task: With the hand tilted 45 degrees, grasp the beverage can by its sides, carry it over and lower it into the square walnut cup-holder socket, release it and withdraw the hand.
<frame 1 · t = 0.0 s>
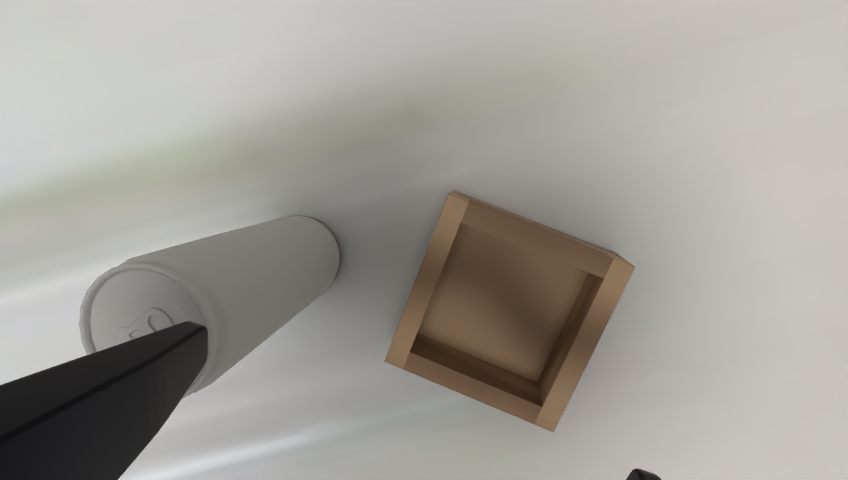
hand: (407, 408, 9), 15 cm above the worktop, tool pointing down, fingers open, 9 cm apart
walnut socket: (500, 298, 24), on the worktop
beverage can: (304, 254, 26), on the worktop
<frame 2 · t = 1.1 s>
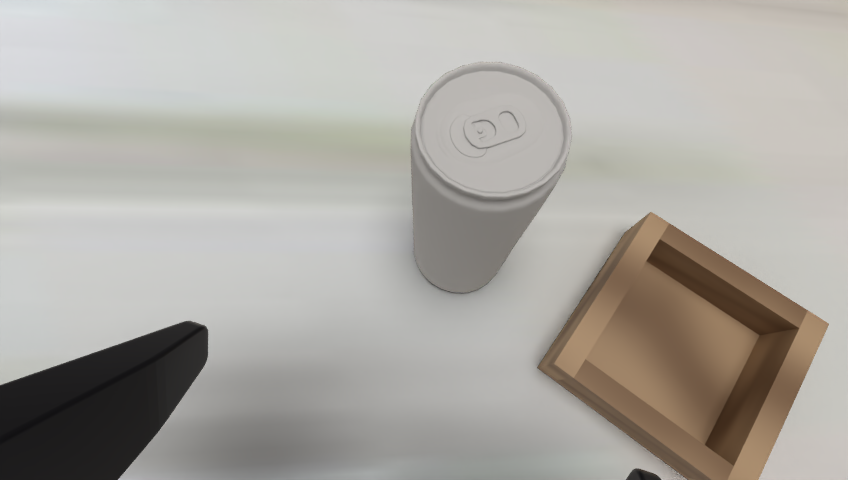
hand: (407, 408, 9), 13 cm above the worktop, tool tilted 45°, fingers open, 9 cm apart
walnut socket: (660, 349, 23), on the worktop
beverage can: (458, 252, 25), on the worktop
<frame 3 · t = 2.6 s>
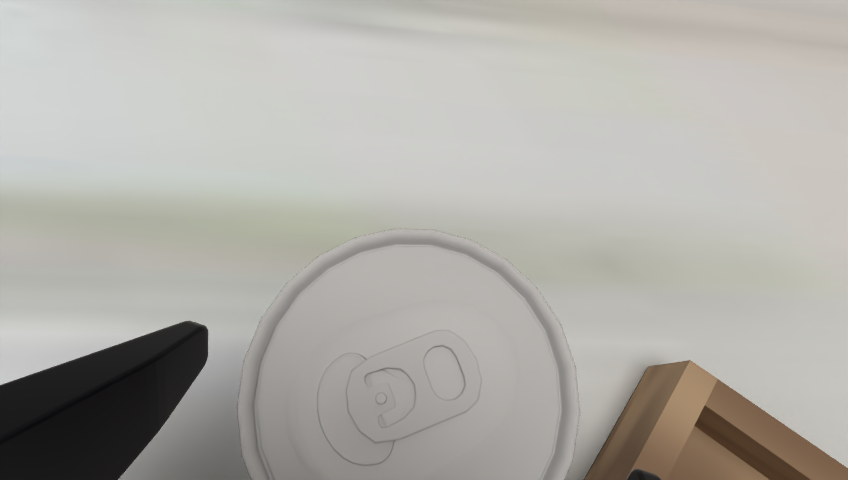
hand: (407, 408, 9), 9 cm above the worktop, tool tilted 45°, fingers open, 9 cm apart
beverage can: (414, 397, 17), on the worktop
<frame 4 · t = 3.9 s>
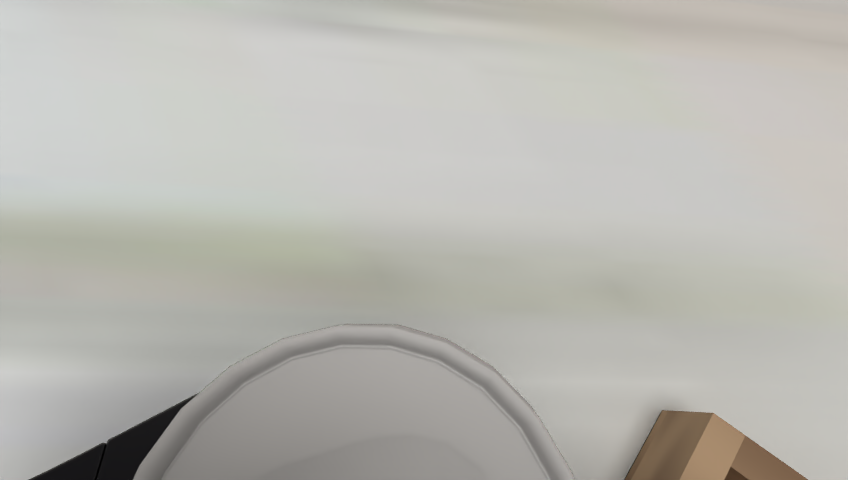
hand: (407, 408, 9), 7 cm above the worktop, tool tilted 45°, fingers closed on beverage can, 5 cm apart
beverage can: (399, 444, 16), on the worktop, touching gripper
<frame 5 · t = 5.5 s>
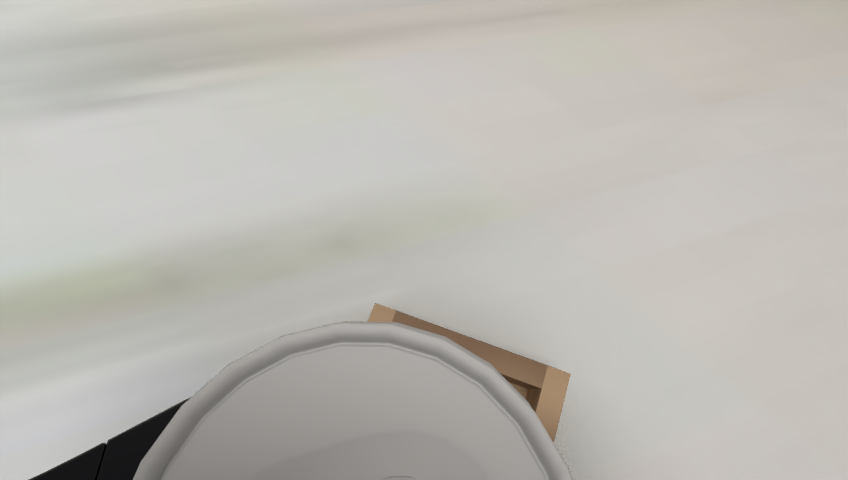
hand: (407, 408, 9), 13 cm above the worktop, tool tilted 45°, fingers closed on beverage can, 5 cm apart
walnut socket: (434, 436, 21), on the worktop
beverage can: (400, 442, 16), point 6 cm above the worktop, touching gripper
when the fingers open (8 cm above the worktop, at t = 7.1 s): beverage can stays where it is, resting on walnut socket.
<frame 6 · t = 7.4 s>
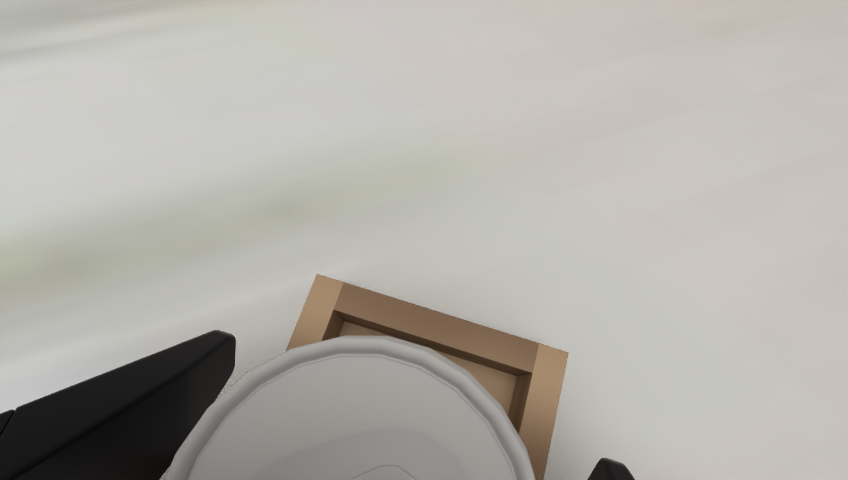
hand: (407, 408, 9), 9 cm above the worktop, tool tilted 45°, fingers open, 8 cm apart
walnut socket: (401, 441, 17), on the worktop
beverage can: (399, 445, 16), resting on walnut socket
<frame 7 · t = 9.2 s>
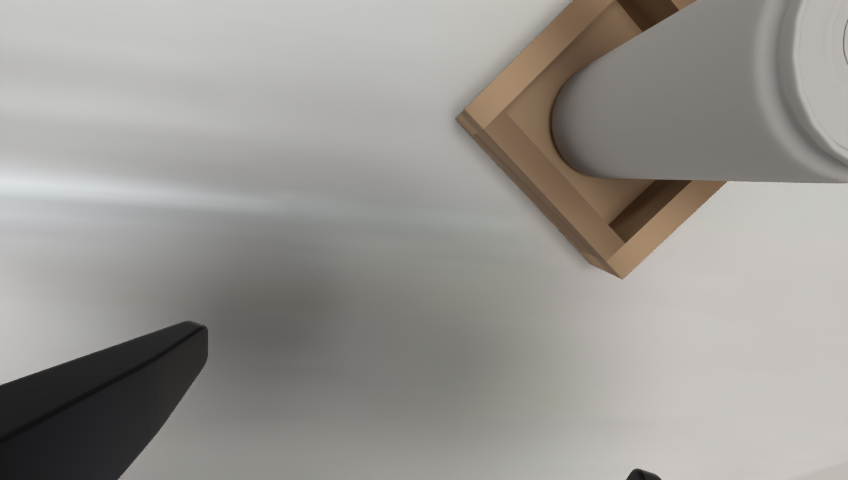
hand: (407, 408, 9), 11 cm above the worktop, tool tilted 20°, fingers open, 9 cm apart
walnut socket: (600, 121, 20), on the worktop
beverage can: (600, 122, 19), resting on walnut socket
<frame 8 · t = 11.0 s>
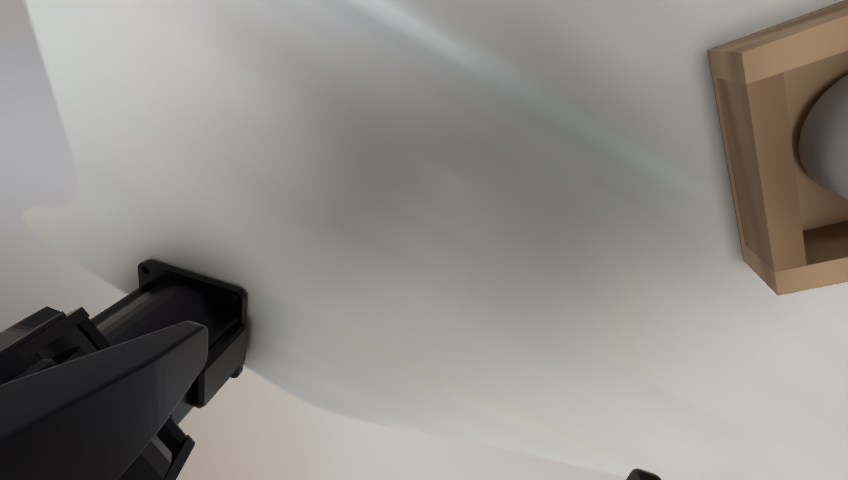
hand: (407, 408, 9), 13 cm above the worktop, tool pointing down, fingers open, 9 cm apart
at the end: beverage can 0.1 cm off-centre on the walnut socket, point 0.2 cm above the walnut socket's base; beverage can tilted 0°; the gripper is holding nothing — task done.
